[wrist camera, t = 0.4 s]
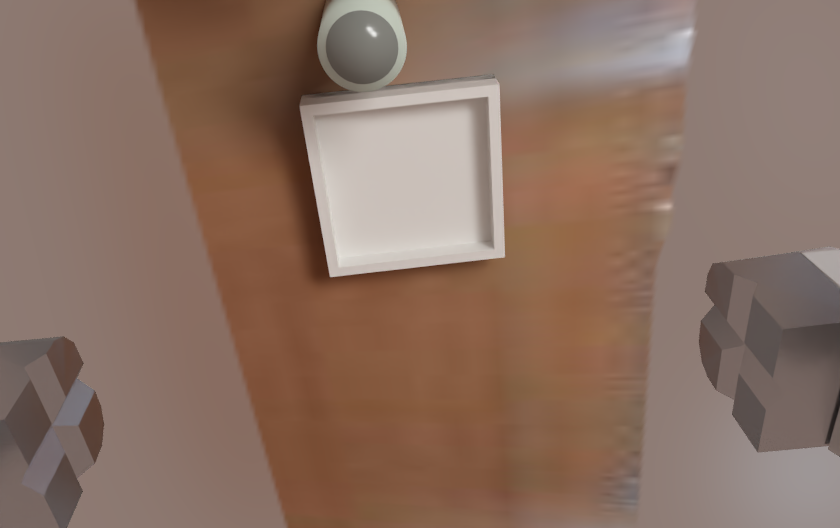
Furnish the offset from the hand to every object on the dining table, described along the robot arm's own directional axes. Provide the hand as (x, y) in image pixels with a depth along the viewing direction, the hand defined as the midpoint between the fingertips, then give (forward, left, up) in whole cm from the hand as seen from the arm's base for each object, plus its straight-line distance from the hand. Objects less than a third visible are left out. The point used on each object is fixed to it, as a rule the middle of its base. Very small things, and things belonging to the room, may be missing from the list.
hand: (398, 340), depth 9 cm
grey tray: (+16, +1, -44) cm, 47 cm away
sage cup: (+4, -1, -44) cm, 44 cm away
